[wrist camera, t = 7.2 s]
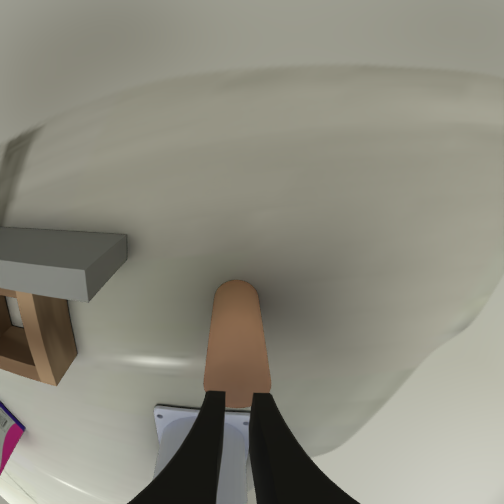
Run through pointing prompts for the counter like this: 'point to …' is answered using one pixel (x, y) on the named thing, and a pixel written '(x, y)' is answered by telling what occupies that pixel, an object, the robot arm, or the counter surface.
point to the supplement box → (8, 435)
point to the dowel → (237, 346)
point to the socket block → (36, 337)
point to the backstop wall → (59, 261)
